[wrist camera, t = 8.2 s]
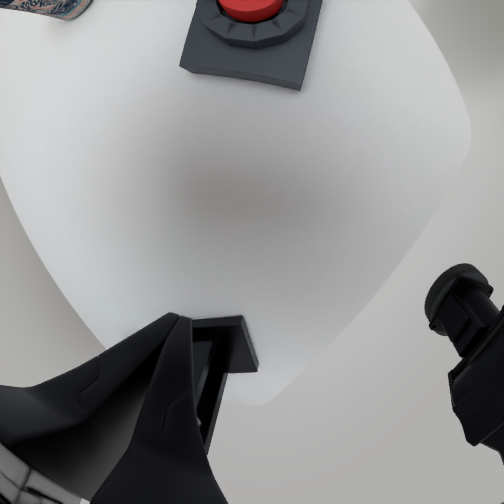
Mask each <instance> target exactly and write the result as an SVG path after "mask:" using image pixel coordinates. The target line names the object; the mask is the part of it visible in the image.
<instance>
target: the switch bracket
mask: <svg viewBox="0 0 504 504" xmlns="http://www.w3.org/2000/svg"><path fill="white" fill-rule="evenodd" d="M192 351H193V378H194V395H195V407H196V416H197V417H198V419H199V420H200V421H201V423H202V425H201V426H200V428H199V430H200V433H201V437H202V441H203V444H204V448H205V451H206V455H208V451H209V447H210V443H211V439H212V435H213V431H214V427H215V423H216V420H217V416H218V412H219V408H220V404H221V400H222V396H223V392H224V388H225V384H226V380H227V376H228V373H249V372H257V371H258V361H257V358H256V355H255V352H254V349H253V346H252V343H251V340H250V337H249V334H248V331H247V328H246V325H245V322H244V319H243V316H237V317H226V318H215V319H202V320H192Z"/></svg>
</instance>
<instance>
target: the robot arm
mask: <svg viewBox="0 0 504 504" xmlns="http://www.w3.org/2000/svg"><path fill="white" fill-rule="evenodd" d="M492 292H493V287H492V286H490V285H488V284H485V283H482V282H479V281H477V280H474V279H471V278H468V277H465V276H462V275H459V276H457V277H456V279H455V281H454V283H453V285H452V286H451V288H450V290H449V292H448V294H447V295H446V297H445V299H444V301H443V302H442V304H441V306H440V307H439V309H438V311H437V312H436V314H435V316H434V317H433V319H432V320H431V322H430V324H429V327H430V329H431V330H434V331H440V332H446V334H447V335H448V337H449V339H450V341H451V342H452V343H453V345H454V347H455V349H456V351H457V352H458V354H459V356H460V357H461V358H462V360H461V361H460V362H459V363H458V364H457V366H456V367H455V368H454V369H453V370H451V371H450V372H449V373H448V380H449V386H450V394H451V402H452V409H453V411H454V413H455V414H456V416H457V417H458V418H459V420H460V422H461V424H462V427H463V430H464V434H465V438H466V441H467V442H468V443H470V444H471V445H473V446H476V445H478V444H479V443H481V444H483V445H485V446H488V447H489V448H491V449H494V450H496V451H498V452H499V454H500V456H501V458H502V461H503V464H504V305H503V307H502V310H501V311H499V310H498V308H497V307H496V306H495V305H494V304H493V302H492V301H491V300H490V299H489V298H490V296H491V294H492ZM82 498H84V499H85V500H88V501H90V504H228V502H227V501H226V498H225V497H224V495H223V493H222V491H221V489H220V487H219V486H218V484H217V482H216V480H215V478H214V475H213V473H212V470H211V468H210V465H209V462H208V459H207V455H206V451H205V448H204V444H203V441H202V437H201V433H200V430H199V425H198V420H197V416H196V407H195V395H194V378H193V351H192V319H191V318H188V317H184V316H180V315H178V314H174V313H171V312H170V313H167V314H165V315H164V316H162V317H161V318H159V319H157V320H156V321H154V322H152V323H151V324H149V325H147V326H146V327H144V328H142V329H141V330H139V331H137V332H136V333H134V334H133V335H131V336H129V337H128V338H126V339H124V340H123V341H121V342H119V343H118V344H116V345H114V346H113V347H111V348H109V349H108V350H106V351H104V352H103V353H101V354H100V355H98V357H97V356H96V357H94V358H93V359H91V360H89V361H87V362H86V363H84V364H82V365H80V366H78V367H76V368H74V369H72V370H70V371H68V372H66V373H64V374H61V375H59V376H57V377H55V378H52V379H50V380H48V381H45V382H43V383H41V384H38V385H36V386H32V387H25V388H20V387H11V386H4V385H0V504H80V501H81V499H82ZM501 504H504V502H503V503H501Z"/></svg>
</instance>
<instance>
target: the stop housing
mask: <svg viewBox="0 0 504 504" xmlns="http://www.w3.org/2000/svg"><path fill="white" fill-rule="evenodd" d="M321 4H322V0H283V4H282V6H281V8H280V10H279V11H278V12H277V13H276V14H274V15H273V16H271V17H270V18H267V19H265V20H261V21H256V22H245V21H240V20H237V19H234V18H233V17H231V16H229V15H228V14H227V13H226V12H225V10H224V9H223V7H222V5H221V4H220V2H219V1H218V0H197V3H196V9H195V12H194V15H193V18H192V21H191V24H190V28H189V31H188V35H187V38H186V41H185V45H184V49H183V52H182V56H181V60H180V64H179V66H180V67H182V68H184V69H186V70H188V71H190V72H192V73H199V74H209V75H218V76H226V77H233V78H240V79H246V80H252V81H257V82H262V83H268V84H272V85H277V86H282V87H286V88H290V89H294V90H298V91H300V90H301V87H302V84H303V79H304V75H305V71H306V67H307V63H308V59H309V55H310V51H311V46H312V42H313V38H314V34H315V30H316V25H317V21H318V17H319V13H320V9H321Z"/></svg>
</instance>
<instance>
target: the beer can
mask: <svg viewBox="0 0 504 504" xmlns="http://www.w3.org/2000/svg"><path fill="white" fill-rule="evenodd" d="M89 2H90V0H0V8H4V9H13V10H19V11H26V12H31V13H36V14H41V15H46V16H50V17H55V18H59V19H62V20H69V19H72V18H74V17H76V16H77V15H78V14H80V13H81V12H82V11H83V10H84V9H85V8H86V6H87V5H88V4H89Z"/></svg>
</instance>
